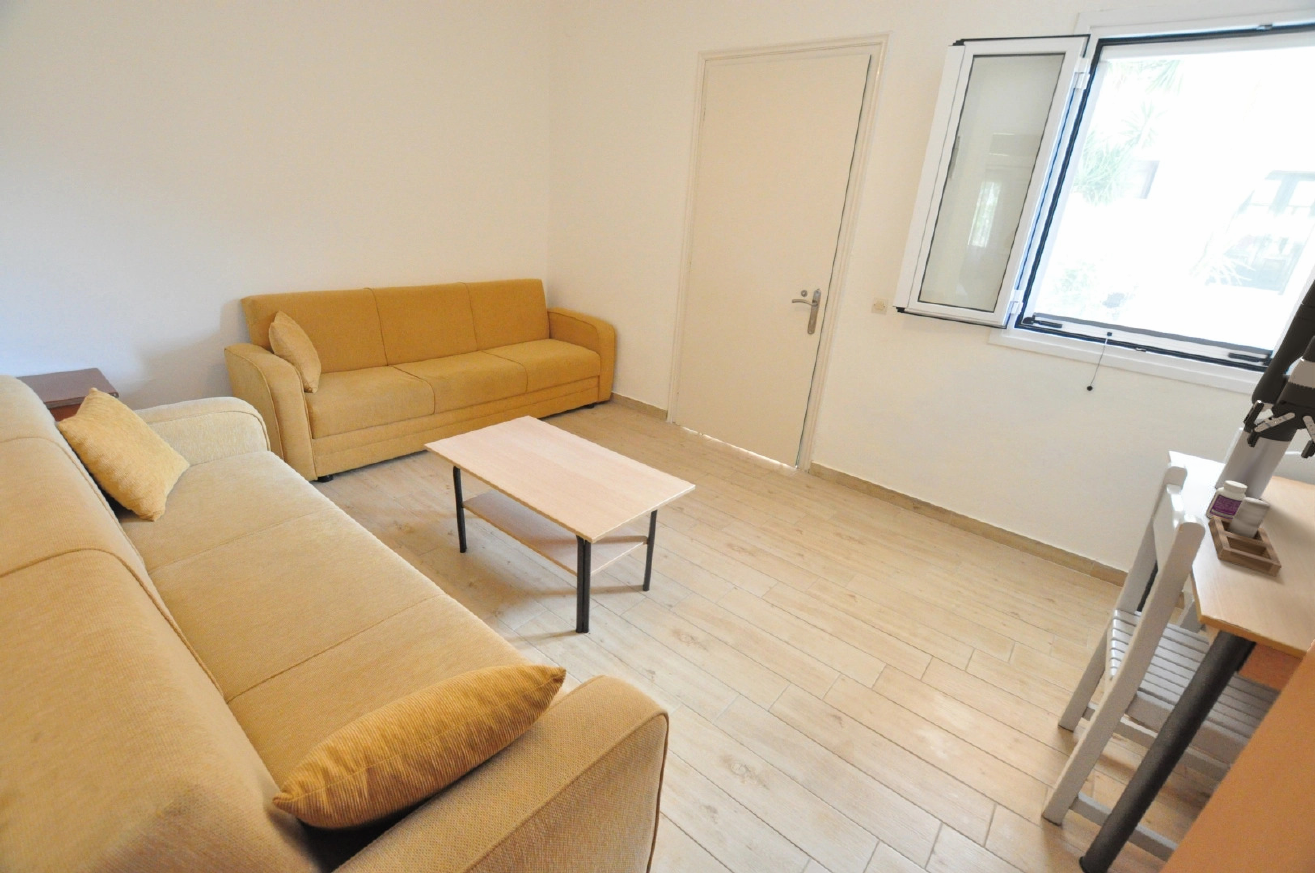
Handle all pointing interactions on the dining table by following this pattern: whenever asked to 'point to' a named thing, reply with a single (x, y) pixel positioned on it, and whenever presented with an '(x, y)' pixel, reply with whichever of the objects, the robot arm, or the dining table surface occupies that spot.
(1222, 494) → the pill bottle
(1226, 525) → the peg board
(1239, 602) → the dining table surface
